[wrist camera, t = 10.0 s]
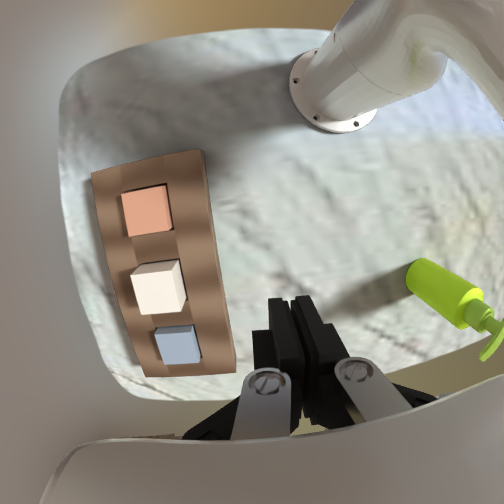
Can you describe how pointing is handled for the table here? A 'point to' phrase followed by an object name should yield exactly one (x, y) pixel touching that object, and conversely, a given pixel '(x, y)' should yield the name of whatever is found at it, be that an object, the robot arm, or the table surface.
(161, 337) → the slate key
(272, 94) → the table surface
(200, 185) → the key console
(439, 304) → the soap dispenser
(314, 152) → the table surface
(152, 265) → the ivory key
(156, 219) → the terracotta key
